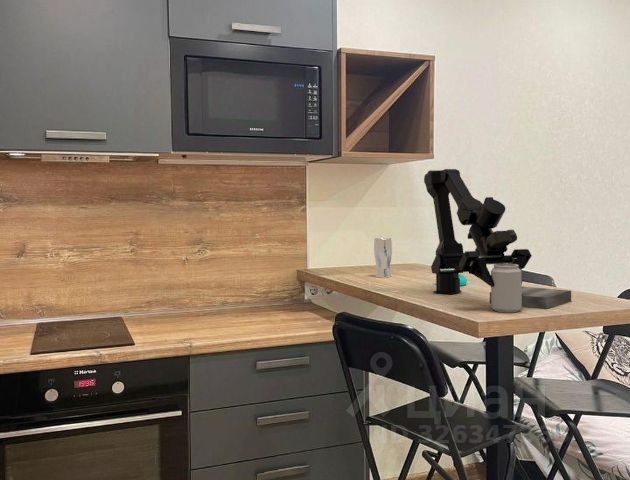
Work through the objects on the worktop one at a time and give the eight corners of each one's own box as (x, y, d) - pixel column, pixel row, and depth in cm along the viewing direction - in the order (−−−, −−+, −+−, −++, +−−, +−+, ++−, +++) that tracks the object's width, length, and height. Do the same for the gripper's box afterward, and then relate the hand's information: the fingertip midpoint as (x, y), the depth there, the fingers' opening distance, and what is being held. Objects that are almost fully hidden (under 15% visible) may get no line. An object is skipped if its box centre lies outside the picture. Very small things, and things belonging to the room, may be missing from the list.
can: (517, 308, 156) (517, 262, 156) (524, 313, 149) (524, 265, 148) (488, 308, 157) (488, 262, 156) (494, 313, 150) (494, 265, 149)
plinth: (489, 303, 165) (489, 292, 165) (516, 296, 176) (516, 286, 176) (546, 309, 154) (546, 297, 154) (571, 301, 165) (571, 290, 165)
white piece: (396, 276, 231) (395, 238, 230) (382, 278, 227) (381, 239, 226) (384, 275, 237) (383, 237, 236) (370, 276, 233) (370, 238, 232)
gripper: (463, 220, 154) (485, 266, 144) (527, 218, 159) (552, 263, 148) (450, 248, 163) (469, 294, 152) (511, 246, 167) (534, 290, 157)
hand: (507, 285), depth 152 cm, fingers closed on can, 7 cm apart
